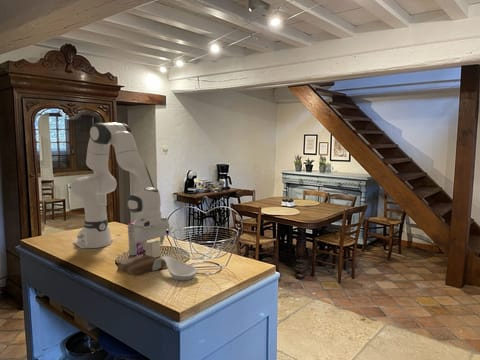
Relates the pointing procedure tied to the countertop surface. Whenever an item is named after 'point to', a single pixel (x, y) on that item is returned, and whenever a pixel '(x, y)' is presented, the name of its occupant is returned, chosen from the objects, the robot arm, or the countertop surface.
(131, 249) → the candy bar box
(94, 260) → the countertop surface
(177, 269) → the spoon rest
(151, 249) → the cream box
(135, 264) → the walnut block
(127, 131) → the robot arm
